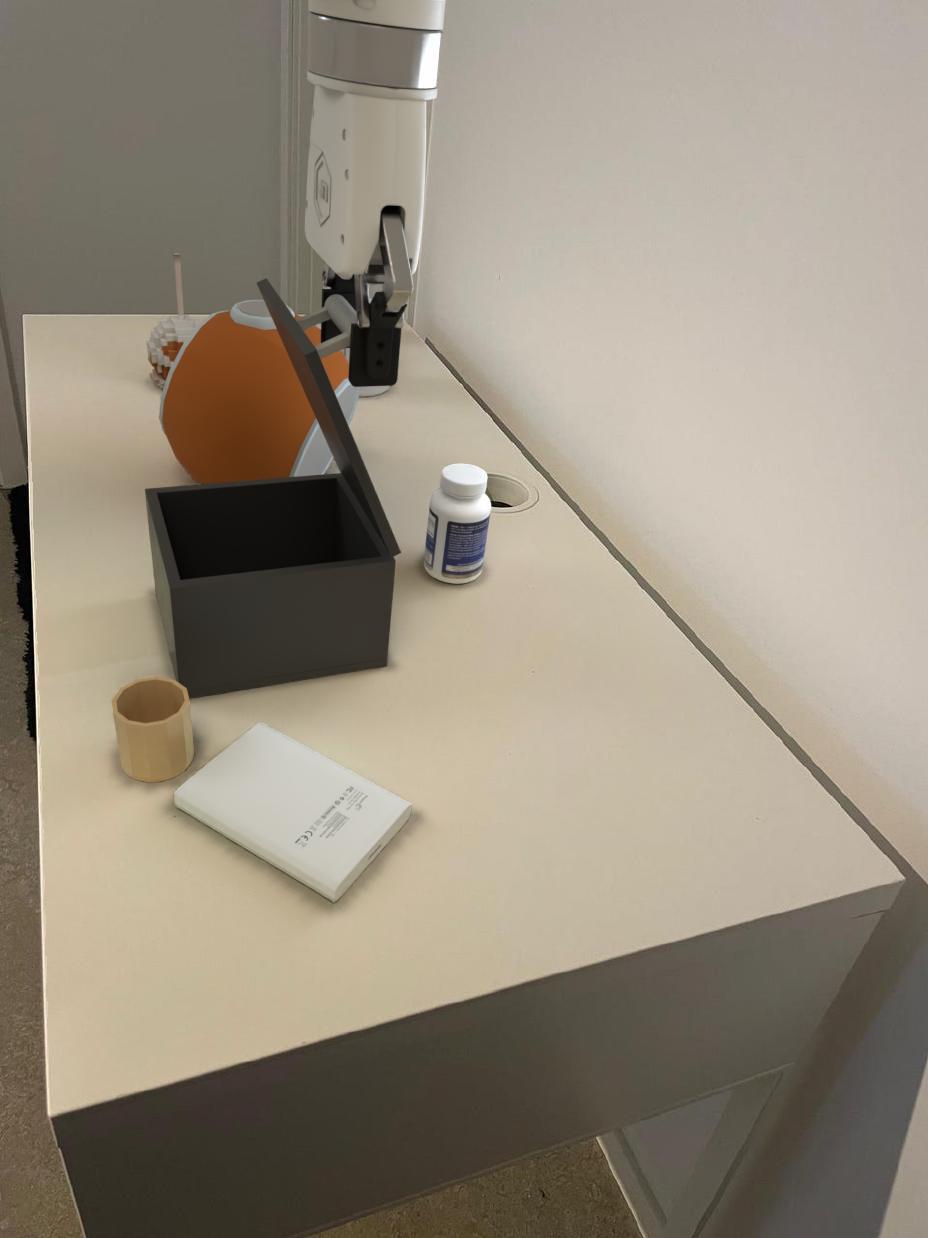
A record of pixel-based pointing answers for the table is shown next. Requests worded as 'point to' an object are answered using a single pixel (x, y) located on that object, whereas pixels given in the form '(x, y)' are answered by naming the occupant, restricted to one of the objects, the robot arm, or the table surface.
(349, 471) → the lid
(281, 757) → the hard drive
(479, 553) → the pill bottle
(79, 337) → the table surface
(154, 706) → the wooden cup
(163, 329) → the decorative ornament
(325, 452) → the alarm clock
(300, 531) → the open storage box
